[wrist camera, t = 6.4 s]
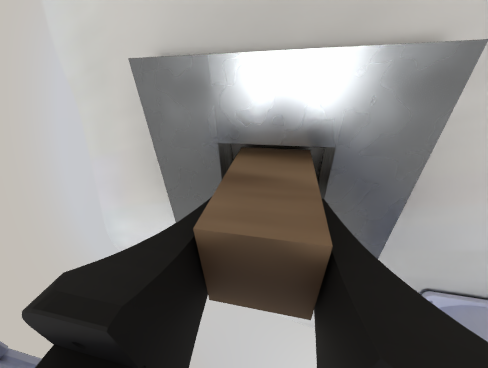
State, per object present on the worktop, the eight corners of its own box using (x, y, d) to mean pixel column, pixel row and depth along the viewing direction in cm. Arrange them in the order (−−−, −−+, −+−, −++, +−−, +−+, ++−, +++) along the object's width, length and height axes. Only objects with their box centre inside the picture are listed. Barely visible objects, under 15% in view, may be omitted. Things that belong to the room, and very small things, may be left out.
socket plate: (356, 253, 16) (365, 282, 14) (197, 232, 19) (185, 254, 16) (440, 45, 9) (488, 39, 6) (158, 59, 11) (128, 58, 9)
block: (301, 206, 13) (310, 320, 7) (243, 200, 14) (209, 299, 8) (310, 150, 11) (332, 246, 5) (241, 147, 12) (192, 228, 6)
